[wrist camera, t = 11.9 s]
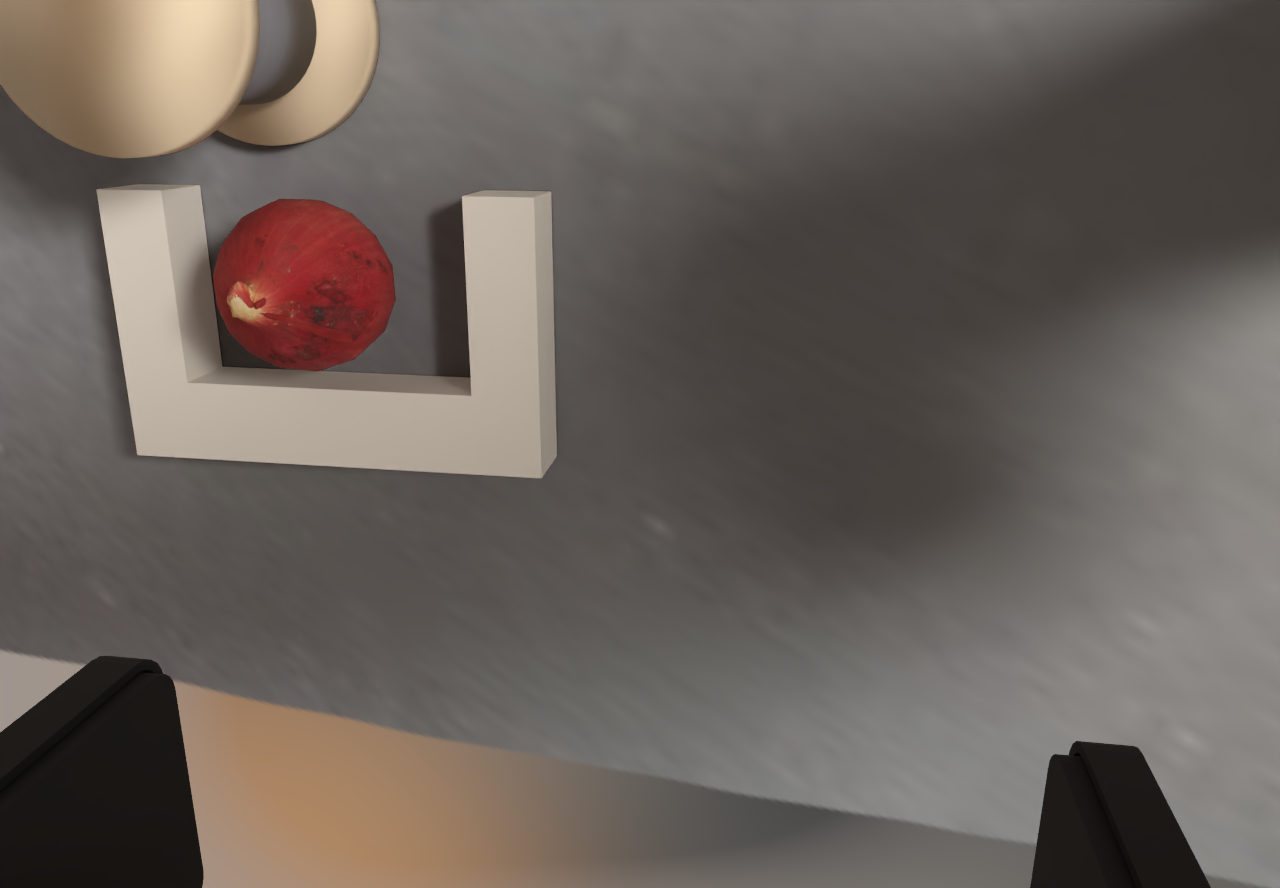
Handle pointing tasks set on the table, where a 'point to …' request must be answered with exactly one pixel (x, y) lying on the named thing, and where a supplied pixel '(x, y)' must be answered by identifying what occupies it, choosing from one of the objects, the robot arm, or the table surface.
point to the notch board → (324, 400)
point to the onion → (303, 284)
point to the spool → (186, 69)
